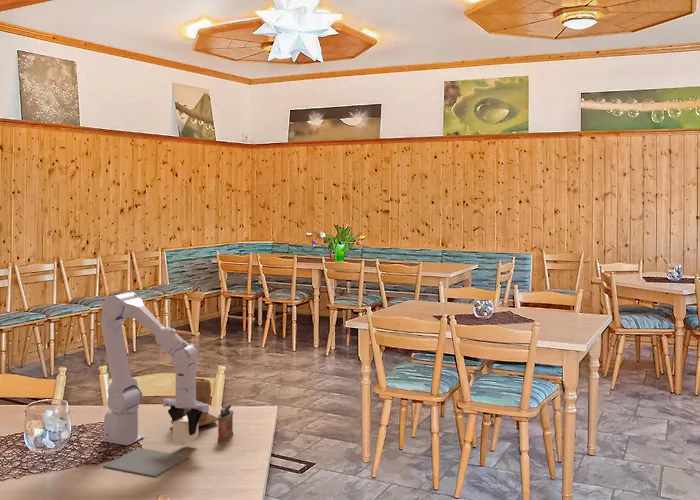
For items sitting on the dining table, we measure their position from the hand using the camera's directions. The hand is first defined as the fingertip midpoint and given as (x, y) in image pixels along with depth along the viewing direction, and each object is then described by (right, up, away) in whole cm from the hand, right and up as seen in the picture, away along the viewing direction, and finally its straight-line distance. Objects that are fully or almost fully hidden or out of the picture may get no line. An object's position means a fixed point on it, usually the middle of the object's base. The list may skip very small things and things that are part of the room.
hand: (185, 433), depth 208 cm
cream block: (0, -2, 0) cm, 2 cm away
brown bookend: (-3, -3, +21) cm, 21 cm away
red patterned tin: (+10, -4, +9) cm, 14 cm away
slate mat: (-8, -5, -12) cm, 15 cm away
